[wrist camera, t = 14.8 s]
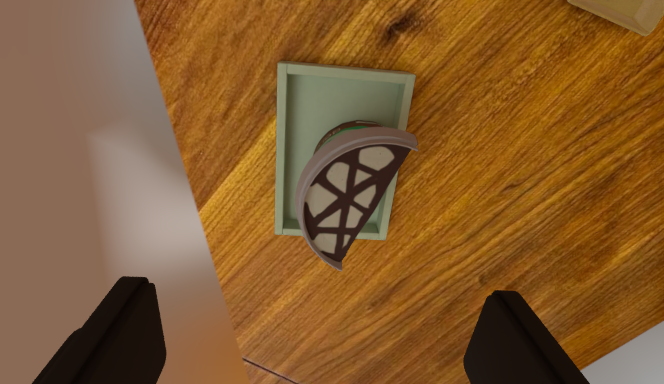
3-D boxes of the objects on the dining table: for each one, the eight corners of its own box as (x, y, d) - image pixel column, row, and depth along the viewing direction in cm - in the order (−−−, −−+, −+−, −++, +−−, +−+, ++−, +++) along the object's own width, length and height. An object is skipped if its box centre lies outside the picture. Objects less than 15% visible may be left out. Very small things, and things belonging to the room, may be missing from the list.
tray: (277, 221, 37) (274, 234, 34) (280, 60, 30) (277, 62, 27) (381, 227, 38) (385, 240, 35) (408, 71, 31) (416, 75, 28)
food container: (334, 81, 30) (341, 101, 21) (392, 111, 32) (423, 143, 23) (280, 192, 35) (267, 249, 26) (333, 215, 36) (338, 276, 27)
